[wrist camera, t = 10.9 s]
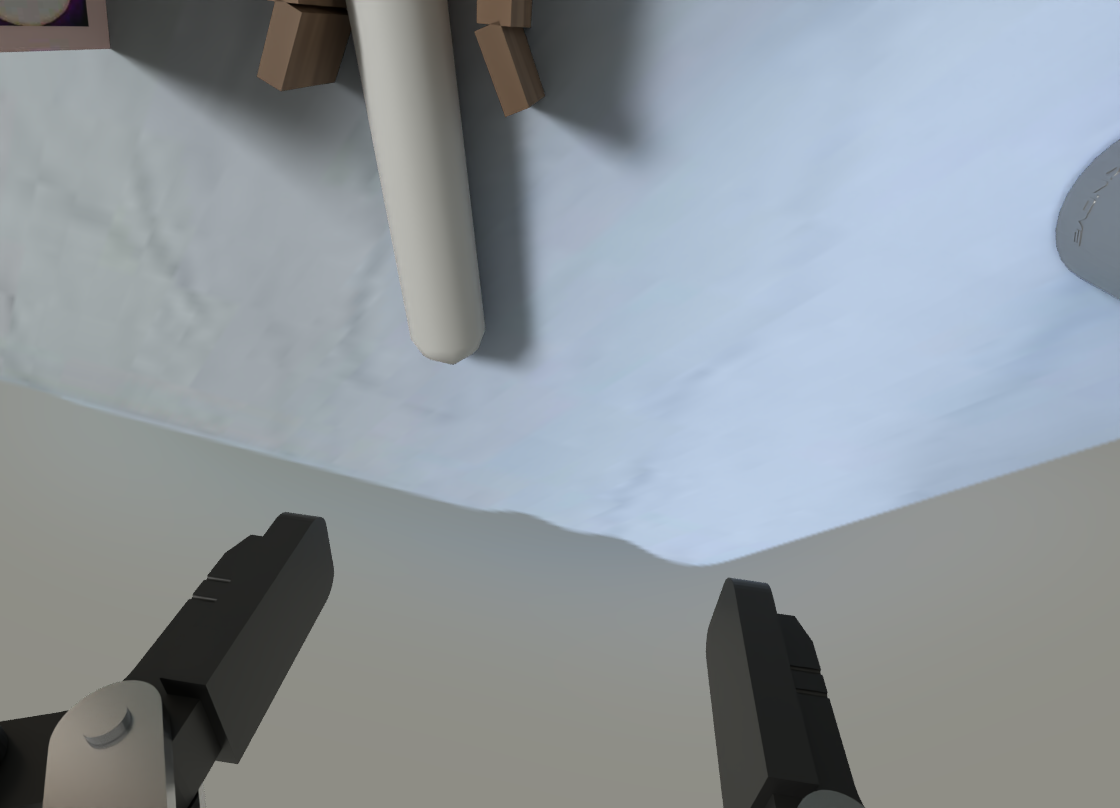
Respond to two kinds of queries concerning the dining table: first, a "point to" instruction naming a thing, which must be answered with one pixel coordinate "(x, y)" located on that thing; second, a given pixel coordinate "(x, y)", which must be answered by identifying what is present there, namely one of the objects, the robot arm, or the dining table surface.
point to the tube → (422, 168)
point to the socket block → (323, 30)
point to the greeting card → (53, 25)
